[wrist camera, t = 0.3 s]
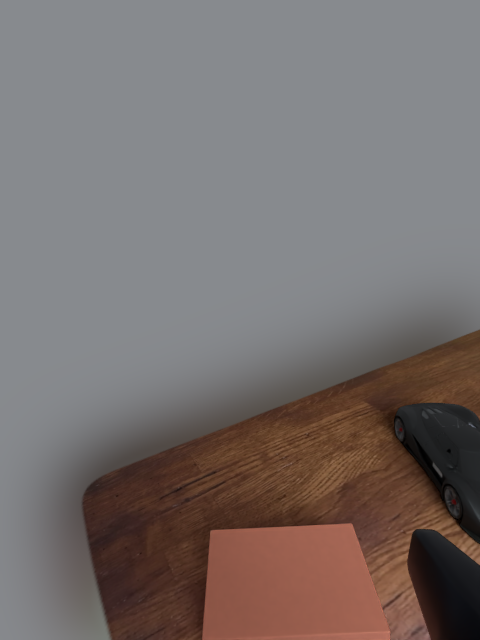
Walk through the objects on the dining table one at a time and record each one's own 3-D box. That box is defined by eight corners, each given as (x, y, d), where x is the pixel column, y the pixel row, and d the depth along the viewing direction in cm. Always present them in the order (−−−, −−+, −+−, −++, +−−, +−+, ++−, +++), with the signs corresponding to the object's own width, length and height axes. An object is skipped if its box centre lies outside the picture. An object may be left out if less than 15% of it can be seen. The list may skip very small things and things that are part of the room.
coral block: (349, 568, 24) (352, 522, 23) (384, 684, 18) (391, 632, 17) (215, 574, 24) (210, 529, 23) (208, 691, 18) (201, 640, 17)
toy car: (479, 556, 24) (490, 506, 23) (386, 423, 38) (390, 388, 37) (587, 549, 24) (604, 499, 23) (455, 419, 38) (461, 384, 37)
